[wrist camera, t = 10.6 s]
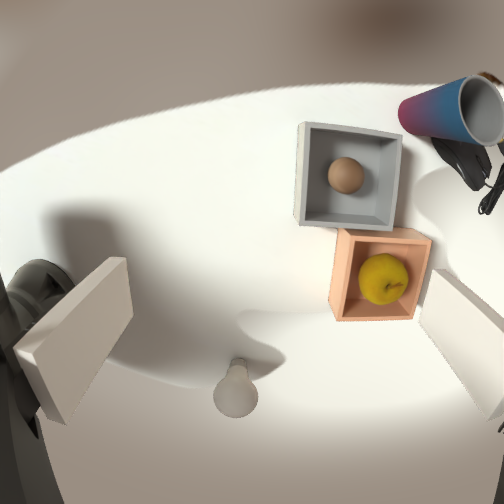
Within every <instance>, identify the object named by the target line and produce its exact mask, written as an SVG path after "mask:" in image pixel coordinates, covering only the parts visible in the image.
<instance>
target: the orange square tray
mask: <svg viewBox="0 0 504 504" xmlns="http://www.w3.org/2000/svg"><path fill="white" fill-rule="evenodd" d="M431 243H432V240H430V239H429V238H427V237H425V236H424V235H422V234H421V233H419V232H418V231H416V230H414V229H412V228H399V227H393V231H380V230H365V229H349V228H338V234H337V242H336V250H335V258H334V265H333V272H332V279H331V286H330V292H329V299H328V301H329V304H330V306H331V309H332V311H333V314H334V316H335V318H336V321H380V320H381V321H383V320H408V319H413V316H414V312H415V308H416V305H417V302H418V298H419V295H420V291H421V287H422V283H423V279H424V275H425V271H426V267H427V262H428V258H429V253H430V248H431ZM381 253H388V254H391V255H392V256H394V257H396V258H397V259H398V260H400V261H401V262H402V263H403V265H404V267H405V269H406V271H407V273H408V285H407V287H406V289H405V291H404V293H403V295H402V296H401V297H400V298H399V299H398V300H397V301H395V302H392V303H389V304H386V305H377V304H374V303H372V302H370V301H369V300H367V299H366V298H365V297H364V296H363V294H362V292H361V290H360V286H359V280H358V275H359V271H360V268H361V266H362V264H363V263H364V262H365V260H366V259H368V258H370V257H371V256H373V255H376V254H381Z"/></svg>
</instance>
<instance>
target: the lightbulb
mask: <svg viewBox="0 0 504 504" xmlns="http://www.w3.org/2000/svg"><path fill="white" fill-rule="evenodd" d="M213 398H214V403H215V405H216V407H217V409H218V410H219V411H220V412H221V413H223V414H224V415H226V416H228V417H232V418H241V417H244V416H246V415H248V414H250V413H251V412H252V411H253V410H254V408H255V407H256V405H257V402H258V392H257V389H256V387H255V386H254V384H253V383H252V382H251V381H250V379H249V377H248V371H247V364H246V362H245V361H244V360H243V359H240V358H236V359H233V360H232V361H231V363H230V368H229V369H228V371H227V375H226V377H225V378H224V379H222V380H221V381H220V382H219V383H218V384H217V386H216V388H215V390H214V394H213Z"/></svg>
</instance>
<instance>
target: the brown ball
mask: <svg viewBox="0 0 504 504" xmlns="http://www.w3.org/2000/svg"><path fill="white" fill-rule="evenodd" d="M364 179H365V173H364V170H363V167H362V166H361V164H360V163H359V162H358V161H356V160H355V159H353V158H350V157H341V158H338V159H336V160H335V161H334V162H333V163H332V164H331V165H330V167H329V169H328V181H329V183H330V185H331V187H332V188H333V189H334V190H335V191H337V192H339V193H341V194H353V193H355V192H357V191H358V190H359V189H360V188H361V187H362V185H363V183H364Z"/></svg>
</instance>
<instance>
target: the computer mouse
mask: <svg viewBox="0 0 504 504" xmlns="http://www.w3.org/2000/svg"><path fill="white" fill-rule="evenodd" d="M431 138H432V142H433V145H434V147H435V149H436V151H437V152H438V154H439V155H440V157H441V158H442V159H443V160H444V161H445V162H446V163H448V164H449V165H451V167H453V168H454V169H455V170H456V171H457V172H458V173H459V174H460V176H461V177H462V178H463V180H464V182H465V183H466V184H467V185H468V186H469V187H470V188H471V189H472V190H473V191H479V190H480V189H481V188H482V187H483V186H484V185H486V186H488V187H489V188H492V189H491V191H490V192H489V193H488V194H487V195H486V196H485V197H484V198H483V199H482V201H481V202H480V204H479V207H478V213H479V214H480V215H481V214H484V213H485V214H486V215H489V214H490V213H491V211H492V210H493V208H494V206H495V205H496V203H497V201H498V199H499V197H500V195H501V194H502V191H503V190H504V163H503V164H502V165H501V168H500V171H499V174H498V177H497V180H496V182H495V184H494V187H492V186H489V185H487V184H486V183H485V179H486V178H487V177H488V178H489V176H490V171H491V169H492V166H491V162H490V160H489V157H488V154H487V152H486V149H485V147H484V146H482V145H477V144H472V143H467V142H461V141H456V140H450V139H443V138H437V137H431ZM497 145H498V147H499V149H500V152H501V153H502V154H503V156H504V139H503V138H502V139H501V140H500V142H499V143H497ZM483 201H484V202H483ZM485 202H486V203H485ZM481 206H482V207H481ZM480 207H481V210H482V213H480Z"/></svg>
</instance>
